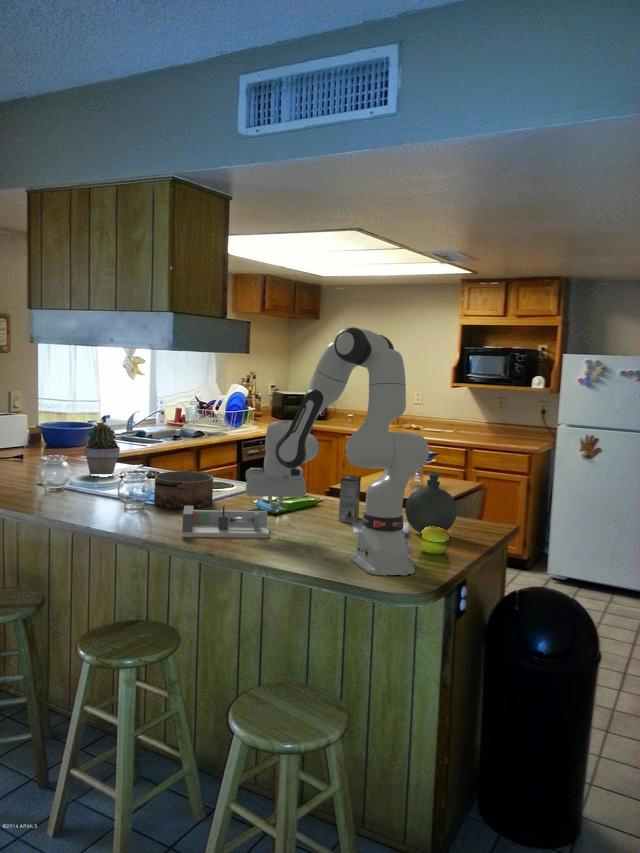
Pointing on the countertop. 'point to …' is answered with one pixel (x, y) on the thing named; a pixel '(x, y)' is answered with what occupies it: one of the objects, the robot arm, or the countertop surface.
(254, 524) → the plunger
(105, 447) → the potted plant
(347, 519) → the coffee box
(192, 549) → the countertop surface
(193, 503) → the cooking pot
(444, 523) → the flask
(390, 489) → the robot arm
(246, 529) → the gauge bed
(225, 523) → the needle rider
